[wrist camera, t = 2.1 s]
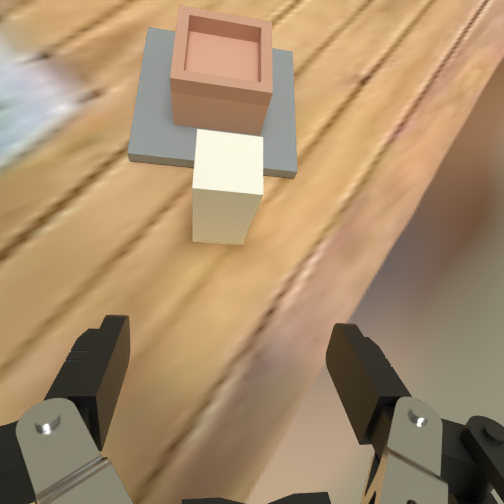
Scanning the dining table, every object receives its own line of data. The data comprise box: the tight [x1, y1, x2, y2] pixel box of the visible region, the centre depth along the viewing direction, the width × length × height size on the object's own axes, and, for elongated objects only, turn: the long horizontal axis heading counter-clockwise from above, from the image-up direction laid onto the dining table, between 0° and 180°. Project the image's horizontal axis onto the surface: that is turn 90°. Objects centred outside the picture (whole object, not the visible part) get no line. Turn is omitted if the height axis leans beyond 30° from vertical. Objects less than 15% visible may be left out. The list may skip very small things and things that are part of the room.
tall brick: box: [192, 129, 263, 245], centre depth 26 cm, size 4×4×10 cm
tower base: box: [128, 5, 297, 178], centre depth 31 cm, size 16×16×7 cm
